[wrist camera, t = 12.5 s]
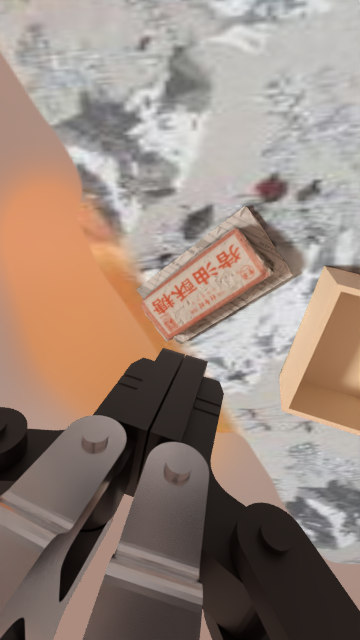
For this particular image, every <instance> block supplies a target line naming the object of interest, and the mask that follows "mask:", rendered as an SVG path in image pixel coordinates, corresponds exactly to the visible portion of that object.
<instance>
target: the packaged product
mask: <svg viewBox="0 0 360 640" xmlns="http://www.w3.org/2000/svg"><path fill="white" fill-rule="evenodd" d="M292 276H293V274H292V273H291V271H290V269H289V267H288V265H287V263H286V262H285V261H284V260H283V258H282V257H281V256H280V254H279V253H278V252H277V250H276V249H275V247H274V245H273V244H272V242H271V240H270V238H269V237H268V235H267V234H266V232H265V231H264V229H263V228H262V226H261V225H260V223H259V222H258V220H257V219H256V218H255V217H254V215H253V214H252V213H251V212H250V211H249V209H248V208H247V207H246V206H245V207H244V208H242V209H241V210H239V211H238V212H237V213H235V214H234V215H233V216H231V217H230V218H229V219H227V220H226V221H224V222H223V223H222V224H220V225H219V226H218V227H216V228H215V229H214V230H213V231H211V232H210V233H209V234H208V235H206V236H205V237H204V238H203V239H201V240H200V241H199V242H198V243H196V244H195V245H194V246H193V247H191V248H190V249H189V250H187V251H186V252H184V253H183V254H182V255H181V256H179V257H178V258H177V259H175V260H174V261H173V262H172V263H171V264H169V265H168V266H166V267H165V268H163V269H162V270H161V271H160V272H158V273H157V274H156V275H154V276H153V277H152V278H151V279H150V280H148V281H147V282H146V283H145V284H143V285H142V286H140V287H139V288H138V289H137V291H138V292H139V294H140V295H141V296H142V298H143V299H144V300H143V301H142V307H143V309H144V311H145V315H146V316H147V317H148V318H149V319H150V320H151V322H152V323H153V324H154V325H155V327H156V329H157V330H158V332H159V333H161V335H162V336H163V338H164V339H165V341H166V342H167V341H169V340H171V339H173V338H174V339H175V340H176V342H179V343H181V344H182V343H184V342H185V341H187V340H189V339H190V338H192V337H193V336H195V335H197V334H198V333H200V332H201V331H203V330H205V329H206V328H208V327H209V326H211V325H213V324H214V323H216V322H218V321H219V320H221V319H223V318H225V317H226V316H228V315H229V314H231V313H233V312H234V311H236V310H237V309H239V308H241V307H242V306H244V305H246V304H247V303H249V302H250V301H252V300H254V299H255V298H257V297H259V296H260V295H262V294H264V293H265V292H267V291H268V290H270V289H272V288H274V287H275V286H277V285H279V284H280V283H281V282H283V281H285V280H286V279H288V278H290V277H292Z"/></svg>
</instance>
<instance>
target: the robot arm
mask: <svg viewBox="0 0 360 640" xmlns="http://www.w3.org/2000/svg"><path fill="white" fill-rule="evenodd" d="M207 363H208V361H204V360H201V359H198V358H195V357H192V356H188V355H186V356H185V354H182V353H178V352H175V351H172V350H169V349H165V348H163V349H162V350H161V352H160V354H159V355H158V357H157V359H156V360H155V361H152V360H149V359H146V358H142V359H140V360H138V361H136V362H134V363H132V364H131V365H130V366H129V368H128V369H127V370H126V372H125V373H124V375H123V376H122V377H121V378H120V380H119V381H118V383H117V384H116V385H115V386H114V388H113V389H112V390H111V392H110V393H109V394H108V396H107V397H106V398H105V400H104V401H103V402H102V404H101V405H100V406H99V408H98V409H97V411H96V412H95V413H94V414H93V415H92V416H86V417H83V418H80V419H78V420H76V421H75V422H73V423H72V424H71V425H70V426H68V428H67V429H66V430H59V431H56V430H54V431H53V430H39V429H27V420H26V418H25V417H24V415H23V414H22V413H20V412H19V411H17V410H14V409H11V408H5V407H0V640H53V639H54V636H55V634H56V631H57V628H58V625H59V622H60V620H61V617H62V615H63V613H64V611H65V608H66V606H67V604H68V603H69V601H70V598H71V597H72V595H73V593H74V592H75V590H76V588H77V586H78V584H79V582H80V581H81V579H82V577H83V575H84V573H85V571H86V569H87V568H88V566H89V564H90V562H91V560H92V558H93V557H94V555H95V553H96V551H97V549H98V547H99V546H100V544H101V542H102V540H103V538H104V536H105V535H106V533H107V531H108V529H109V527H110V525H111V523H112V521H113V517H114V514H115V512H116V510H117V508H118V506H119V504H120V501H121V499H122V497H123V495H124V494H127V495H130V496H132V497H134V499H133V502H132V505H131V508H130V511H129V514H128V517H127V520H126V524H125V526H124V529H123V532H122V535H121V538H120V541H119V544H118V547H117V549H116V552H115V554H113V556H112V558H111V560H110V562H109V565H108V567H107V570H106V574H105V576H104V579H103V582H102V585H101V587H100V590H99V593H98V596H97V599H96V602H95V605H94V608H93V611H92V614H91V617H90V619H89V622H88V625H87V628H86V631H85V634H84V637H83V640H199V638H200V627H201V616H202V609H203V610H204V617H205V620H206V624H207V626H208V629H209V632H210V634H211V637H212V639H213V640H360V611H359V609H358V608H357V607H356V605H355V604H354V602H353V601H352V600H351V598H350V597H349V595H348V594H347V592H346V591H345V589H344V588H343V587H342V585H341V584H340V582H339V581H338V579H337V578H336V577H335V575H334V574H333V572H332V571H331V570H330V568H329V567H328V565H327V564H326V562H325V561H324V559H323V558H322V557H321V555H320V554H319V552H318V551H317V549H316V548H315V547H314V545H313V544H312V542H311V541H310V539H309V538H308V537H307V535H306V534H305V532H304V531H303V529H302V528H301V527H300V525H299V524H298V523H297V522H296V521H295V520H294V518H293V517H292V516H290V515H289V514H288V513H287V512H285V511H283V510H282V509H280V508H279V507H276V506H274V505H271V504H268V503H254V504H251V505H249V506H247V507H246V506H244V505H243V504H242V503H240V502H238V501H237V500H236V499H235V498H233V497H232V496H231V495H229V494H228V493H227V492H225V490H224V489H223V488H222V487H221V486H220V485H219V483H218V482H217V481H216V479H215V477H214V475H213V473H212V469H211V463H210V459H211V453H212V448H213V444H214V439H215V433H216V429H217V424H218V419H219V415H220V410H221V405H222V400H223V395H224V393H223V390H222V387H221V385H220V382H219V381H216V380H213V379H210V378H206V377H204V374H205V370H206V367H207ZM134 495H135V496H134Z"/></svg>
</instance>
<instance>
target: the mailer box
mask: <svg viewBox="0 0 360 640" xmlns="http://www.w3.org/2000/svg"><path fill="white" fill-rule="evenodd" d="M279 378H280V393H281V409H282V411H284V412H288V413H291V414H294V415H297V416H300V417H303V418H306V419H309V420H313V421H316V422H319V423H322V424H325V425H328V426H331V427H334V428H338V429H341V430H344V431H347V432H350V433H353V434H356V435H359V436H360V274H356V273H352V272H348V271H344V270H340V269H336V268H332V267H328V266H324V268H323V270H322V273H321V275H320V278H319V280H318V283H317V285H316V288H315V290H314V292H313V295H312V297H311V300H310V302H309V305H308V307H307V309H306V312H305V314H304V317H303V319H302V322H301V324H300V327H299V329H298V331H297V334H296V336H295V339H294V341H293V344H292V346H291V348H290V351H289V353H288V356H287V358H286V361H285V363H284V365H283V368H282V370H281V373H280V375H279Z"/></svg>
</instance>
